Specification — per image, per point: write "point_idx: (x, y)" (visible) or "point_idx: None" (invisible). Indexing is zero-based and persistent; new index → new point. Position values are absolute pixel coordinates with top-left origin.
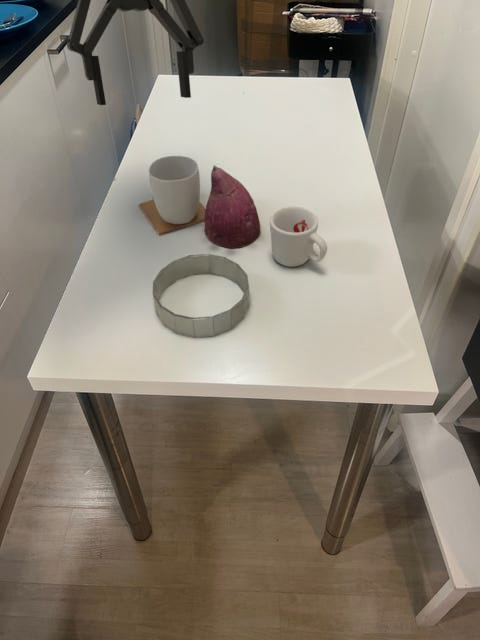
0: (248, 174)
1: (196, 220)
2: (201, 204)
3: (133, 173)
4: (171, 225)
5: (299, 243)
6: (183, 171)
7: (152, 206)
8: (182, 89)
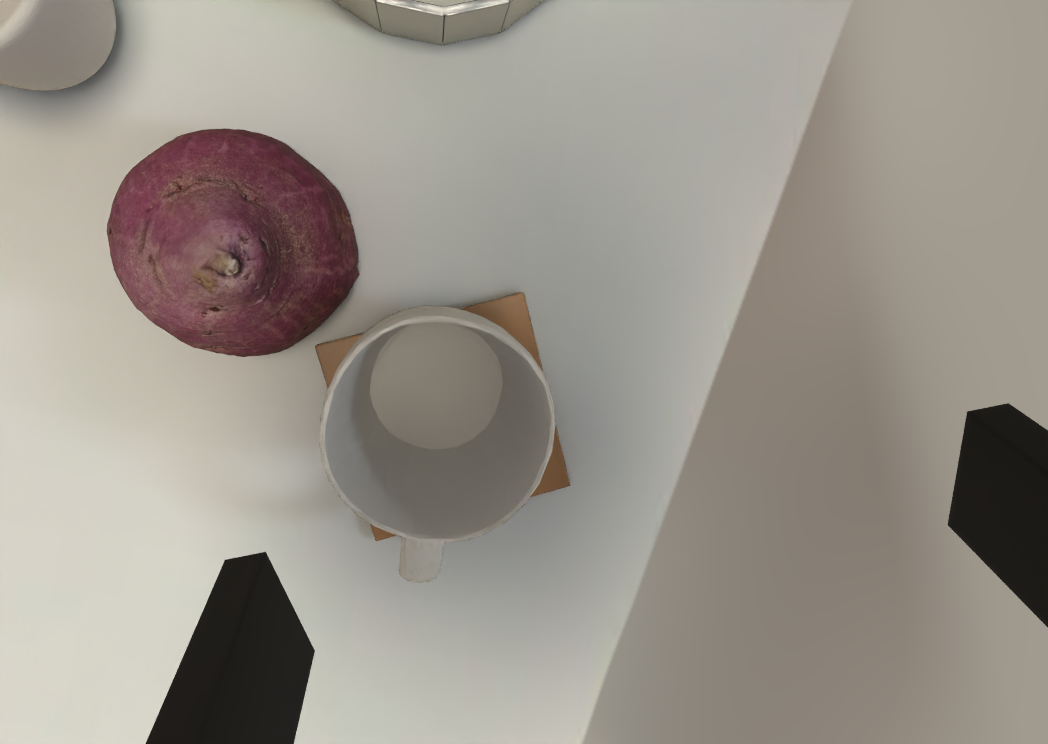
0: (117, 610)
1: None
2: None
3: (560, 690)
4: None
5: None
6: (389, 496)
7: None
8: (280, 660)
